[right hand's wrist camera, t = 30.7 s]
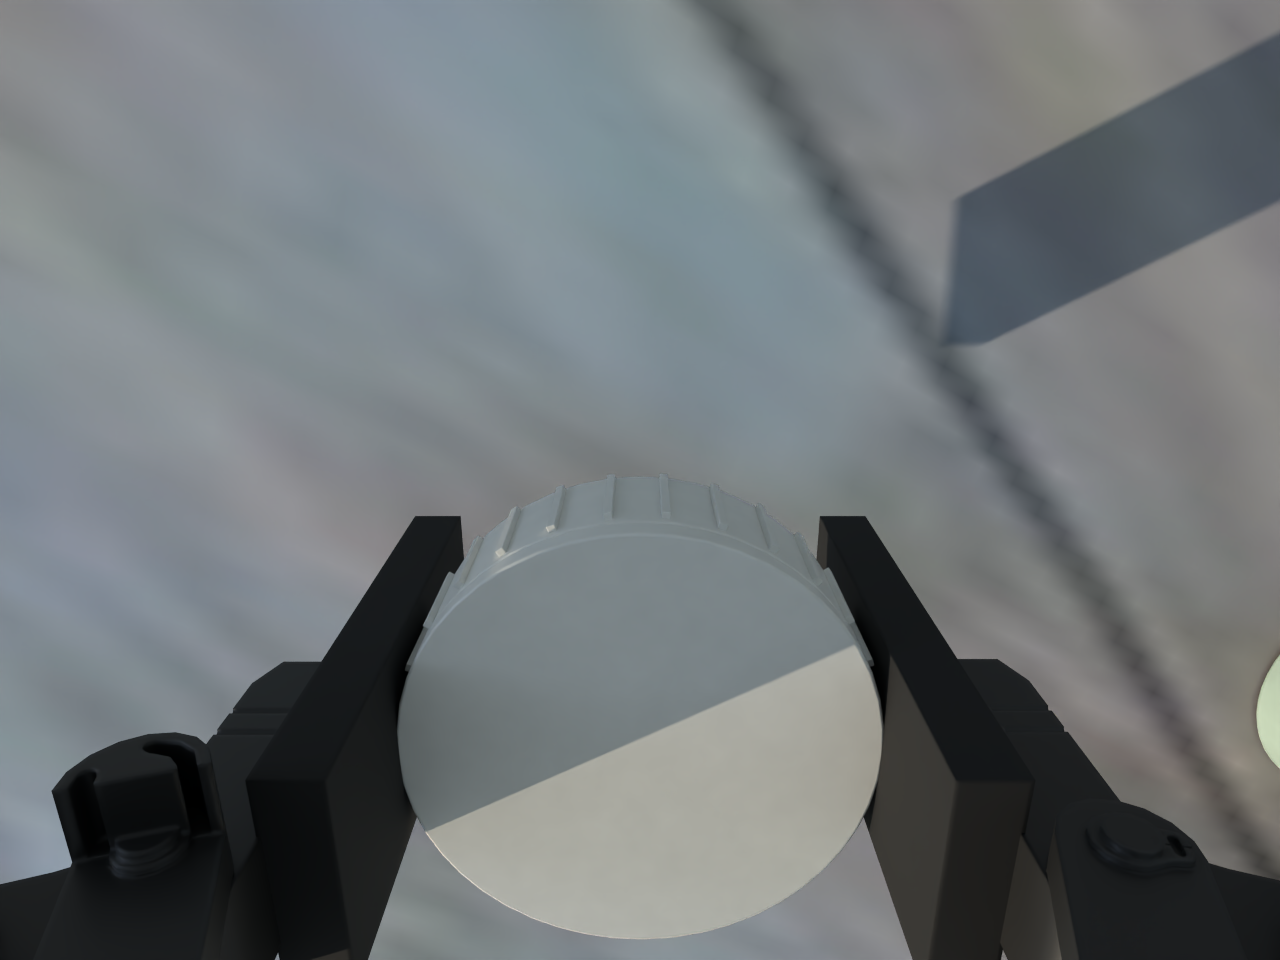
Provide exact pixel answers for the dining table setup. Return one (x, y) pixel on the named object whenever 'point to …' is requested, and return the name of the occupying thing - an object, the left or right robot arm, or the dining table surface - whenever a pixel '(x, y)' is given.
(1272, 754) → the jar
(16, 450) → the dining table surface
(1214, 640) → the dining table surface
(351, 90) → the dining table surface
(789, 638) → the lid
